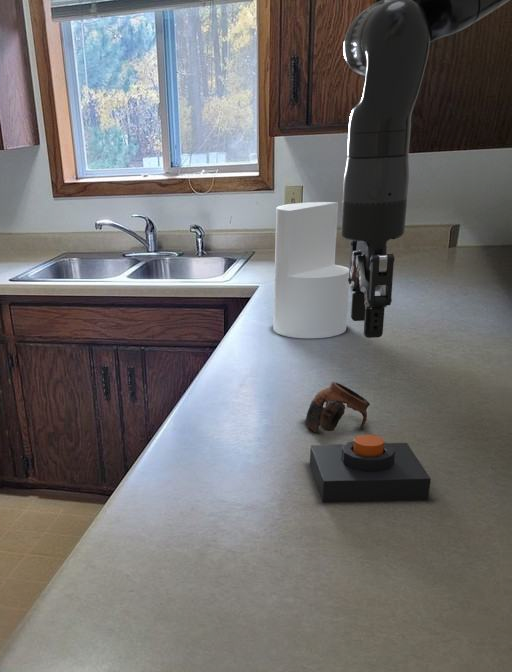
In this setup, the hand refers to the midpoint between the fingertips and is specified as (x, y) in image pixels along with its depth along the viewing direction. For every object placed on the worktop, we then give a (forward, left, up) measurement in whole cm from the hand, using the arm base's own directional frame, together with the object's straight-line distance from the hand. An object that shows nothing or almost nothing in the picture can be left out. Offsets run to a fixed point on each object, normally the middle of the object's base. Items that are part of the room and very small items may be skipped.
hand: (365, 328), depth 97 cm
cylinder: (-5, -81, -22) cm, 84 cm away
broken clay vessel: (0, -18, -22) cm, 29 cm away
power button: (-1, +2, -17) cm, 17 cm away
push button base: (-1, +2, -22) cm, 22 cm away
